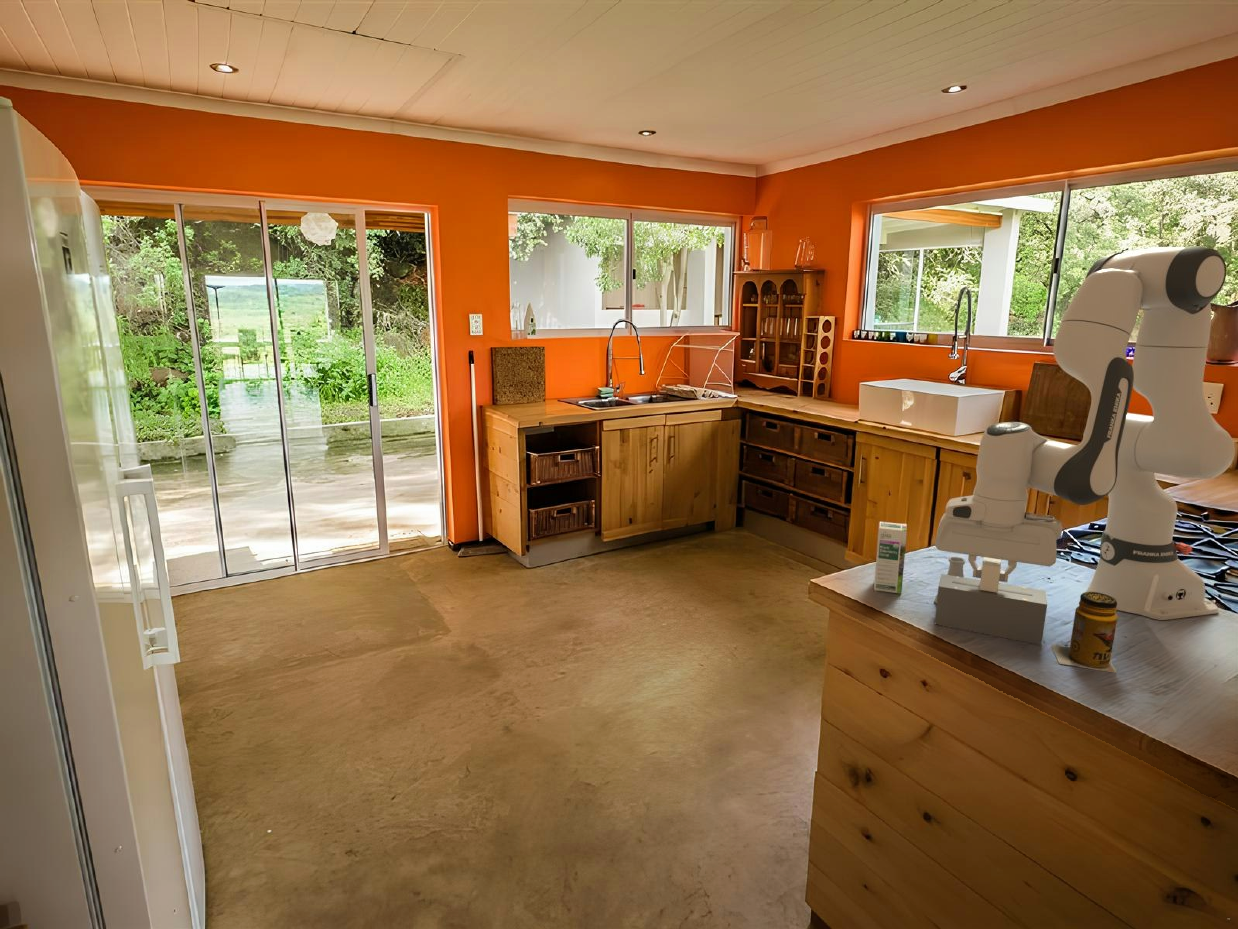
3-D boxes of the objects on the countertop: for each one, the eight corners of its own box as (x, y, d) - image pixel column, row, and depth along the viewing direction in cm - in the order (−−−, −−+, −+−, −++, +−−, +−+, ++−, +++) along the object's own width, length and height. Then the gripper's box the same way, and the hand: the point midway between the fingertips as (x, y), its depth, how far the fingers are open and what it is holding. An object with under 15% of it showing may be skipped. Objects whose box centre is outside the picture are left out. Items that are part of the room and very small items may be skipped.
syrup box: (873, 590, 151) (878, 527, 148) (874, 581, 156) (879, 519, 153) (901, 594, 149) (907, 530, 146) (901, 584, 154) (907, 522, 151)
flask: (976, 613, 140) (981, 566, 138) (937, 610, 141) (942, 564, 139) (966, 598, 147) (971, 554, 145) (930, 596, 148) (934, 552, 146)
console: (934, 624, 135) (938, 585, 133) (937, 610, 141) (941, 573, 139) (1041, 645, 127) (1047, 604, 125) (1039, 629, 133) (1045, 590, 131)
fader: (979, 589, 131) (982, 564, 130) (980, 580, 135) (983, 556, 134) (997, 592, 129) (1000, 567, 128) (997, 583, 134) (1000, 559, 133)
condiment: (1117, 673, 117) (1128, 608, 114) (1059, 664, 120) (1068, 600, 117) (1105, 653, 124) (1115, 591, 121) (1050, 645, 127) (1059, 584, 124)
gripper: (1062, 512, 127) (1052, 583, 130) (940, 498, 136) (933, 564, 139) (1065, 522, 121) (1054, 595, 124) (937, 506, 131) (930, 575, 134)
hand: (989, 578), depth 132 cm, fingers closed on fader, 3 cm apart
